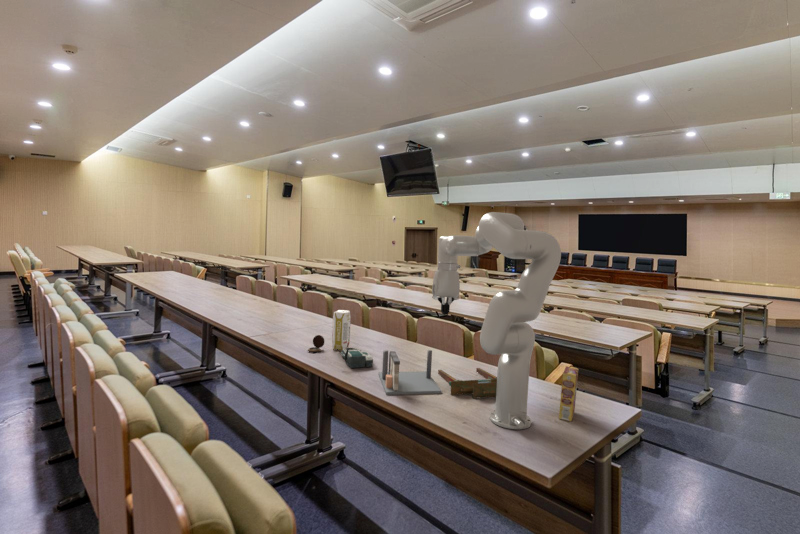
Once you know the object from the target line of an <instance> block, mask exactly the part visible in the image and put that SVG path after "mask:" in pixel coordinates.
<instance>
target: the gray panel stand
mask: <svg viewBox="0 0 800 534" xmlns="http://www.w3.org/2000/svg"><path fill="white" fill-rule="evenodd" d="M426 353H427V355H426V356H427V357H426V370H423V371H417V370H416V371H399V384H398V390H394V389H393V387H392V375H389V350H387V349H385V350H383V351H382V369H381V371H379V372H378V377H379V380H380V382H381V385H382V388H383V390H384V393H385V395H386V396H391V395H395V396H396V395H397V396H399V395H429V394H431V395H432V394H434V395H435V394H442V392H443V390H442V389H441V387H439V385H438V384H437V383H436V382H435V380H434V379H433V377H432V363H433V362H432V359H433V358H432V357H433V350H431V349H430V350H429V349H428V350H427V352H426Z"/></svg>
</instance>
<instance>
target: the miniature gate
mask: <svg viewBox="0 0 800 534" xmlns="http://www.w3.org/2000/svg"><path fill="white" fill-rule="evenodd" d="M475 369H476V373H477V372H478V373H477V374H479V375H480V376H482V377H483V378H484V379H471V380H470V379H468V380H467V379H466V380H462V379H461V380H460V379H456V378H454V377H453V376H452V375H450V374H448V373H447V372H445V371H443V370H442V369H438V370H437V371H438V372H437V374H438V375H439V376H440V377H441V379H443V380H444V381H445V382H448V385H449V386H450V396H459V395H471V394H472V399H483V398H485V399H486V398H496V388H497V375H494V374H492V373H490V372H489V371H486V370H484V369H482V368H481V367H476V368H475Z"/></svg>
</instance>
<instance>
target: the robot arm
mask: <svg viewBox="0 0 800 534" xmlns="http://www.w3.org/2000/svg"><path fill="white" fill-rule="evenodd" d="M474 233H475V235H474V236H472V235H458V234H456V235H442V236H441V235H440V237H439V238H438V250H437V253H438V255H437V270H435V271H434V276H433V279H432V280H433V281H432V287H431V289H432V290H431V294H432V297H431V299H433V300H435V301H438V302H439V304H440V312H441V315H444V316H446V315H447V316H448V315H449V313H450V305H451V304H452V303H453V302H454V301H457V300H459V299H460V292H461V289H460V287H461V286H460V285H461V283H460V274H459V271H458V270H459V269H461V265H459V264H458V258H459V257H462V256H463V257H478V256H480V255H481V256H482V255H484V254H487V253H489V252H490V251H492V249H493V248H494V249H495V250H496V251H497V252H499V253H500V254H501V255H502V256H503V257H505V258H508V259H512V260H513V259H514V260H531V262H530V264H528V266H526V267H525V269H524V270H523V272H522V273H521V275H520V278H519V281H518V284H517V286H516V288H515V289H513V290H502V291H499V292H497V293H496V294H494V295H493V297H492V298H491V299H490V301H489V303H488V306H487V307H488V308H487V310H486V313H485V317H484V318H483V319H484V320H483V323H482V325H481V329H480V334H479V341H480V347H481V348H482V350H483V351H484V352H485V353H487V354H489V355H493V356H495V355H496V356H497V355H498V356H499V355H500V357H499V359H498V362H497V363H498V364H497V373H496V374H497V375H496V377H497V388H496V397H495V408H494V409H495V410H492V411H491V412H490V413H489V418H490V420H491V422H492V423H493V424H495V425H497V426H499V427H501V428H504V429H509V430H525V429H528V428H530V427H531V426H532V418H531V417H530V416H529V415H528V400H529V399H528V397H529V396H528V394H529V381H530V370H531V369H530V368H531V367H530V366H531V358H532V353H533V349H534V346H535V342H536V341H535V340H536V334H535V331H534V328H533V327H532V326H531V325H530V323H529V324H528V323H527V322H532V321H535V320H537V318H538V317H539V315H540V313H541V310H542V308H543V305H544V303H545V301H546V298H547V294H548V292H549V289H550V286H551V283H552V282H553V279H554V277H555V275H556V273H557V270H558V269H559V266H560V264H561V263H560V262H561V258H562V251H561V247H560V244H559V241H558V239H556V237H555V236H553V235H552V234H551V233H548V232H546V231H543V230H542V231H541V230H532V229H528V230H527V229H525V224H524V220H523V218H521V217H520V216H519V215H517V214H516V213H515V214H514V213H510V212H508V213H507V212H499V211H497V212H495V211H491V212H487V213H485V214H484V215H483V216H482V217H481V218H480V220H479V222H478V226H477V228H476V229H475V232H474Z"/></svg>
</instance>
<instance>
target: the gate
mask: <svg viewBox="0 0 800 534" xmlns="http://www.w3.org/2000/svg"><path fill="white" fill-rule="evenodd" d="M400 365H401V360H400V358H399V357H398V354H397V352H396V351H395V350H394V351H388V372H389V375H392V387H393V389H394V390H398V384H399V372H400Z"/></svg>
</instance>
